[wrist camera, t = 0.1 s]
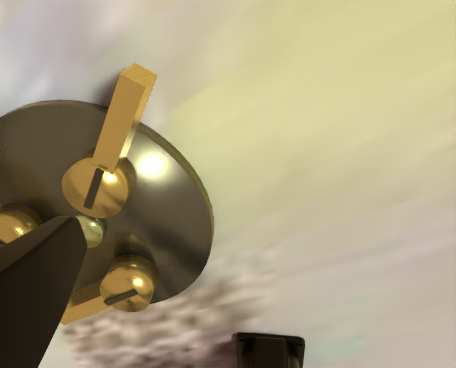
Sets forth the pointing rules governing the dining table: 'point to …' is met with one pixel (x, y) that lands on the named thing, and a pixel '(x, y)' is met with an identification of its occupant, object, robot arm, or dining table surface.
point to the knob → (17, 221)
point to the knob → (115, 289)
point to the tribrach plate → (135, 205)
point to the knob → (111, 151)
